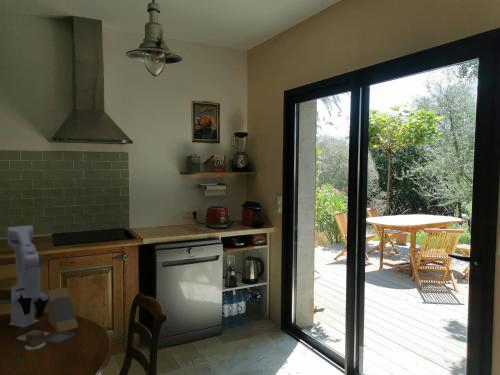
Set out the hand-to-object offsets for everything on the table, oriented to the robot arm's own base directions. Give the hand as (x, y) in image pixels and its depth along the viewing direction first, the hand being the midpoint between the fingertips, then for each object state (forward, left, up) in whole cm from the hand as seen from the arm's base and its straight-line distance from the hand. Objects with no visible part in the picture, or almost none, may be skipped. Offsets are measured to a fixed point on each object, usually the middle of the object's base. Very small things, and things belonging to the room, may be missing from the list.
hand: (33, 315), depth 159 cm
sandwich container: (+1, +14, -10) cm, 17 cm away
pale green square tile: (0, 0, -9) cm, 9 cm away
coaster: (+8, -6, -9) cm, 13 cm away
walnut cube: (+8, -6, -8) cm, 13 cm away
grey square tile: (+11, +3, -9) cm, 14 cm away
